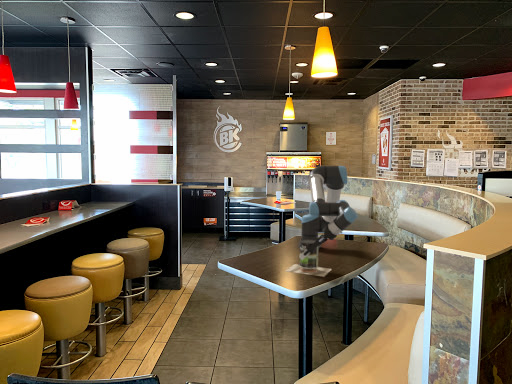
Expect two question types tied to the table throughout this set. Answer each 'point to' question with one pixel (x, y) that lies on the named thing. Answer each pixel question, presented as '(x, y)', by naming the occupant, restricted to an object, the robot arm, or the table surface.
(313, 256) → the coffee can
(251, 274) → the table surface
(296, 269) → the birch board
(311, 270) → the terracotta coaster
